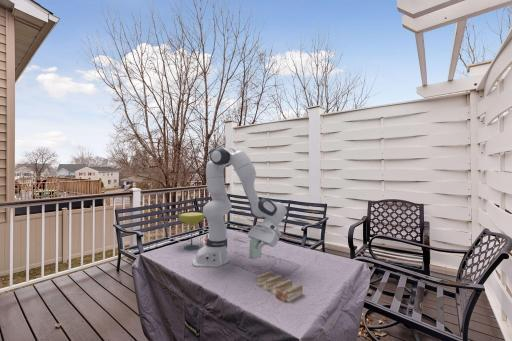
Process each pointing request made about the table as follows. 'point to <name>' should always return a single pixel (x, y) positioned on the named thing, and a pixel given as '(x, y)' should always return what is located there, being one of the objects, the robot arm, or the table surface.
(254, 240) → the block
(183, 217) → the cocktail glass
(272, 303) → the table surface
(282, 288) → the rack
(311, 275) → the table surface
